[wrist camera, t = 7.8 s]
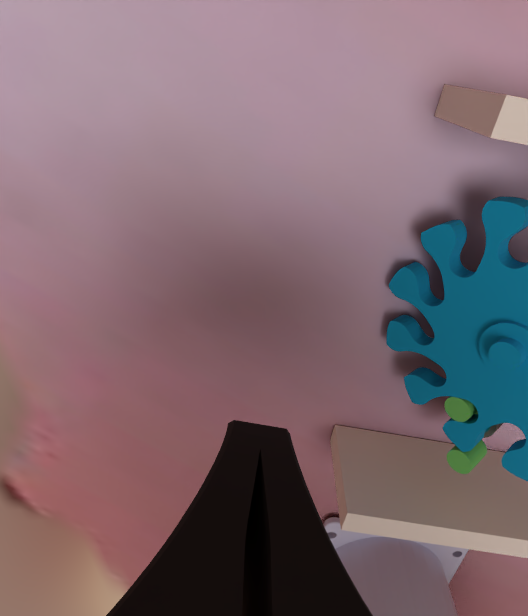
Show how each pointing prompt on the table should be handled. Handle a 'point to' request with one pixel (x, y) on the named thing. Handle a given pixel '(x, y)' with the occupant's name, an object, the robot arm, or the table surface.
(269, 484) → the robot arm
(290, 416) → the table surface
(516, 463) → the blue virus model
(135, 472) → the table surface
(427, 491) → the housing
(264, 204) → the table surface
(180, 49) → the table surface
